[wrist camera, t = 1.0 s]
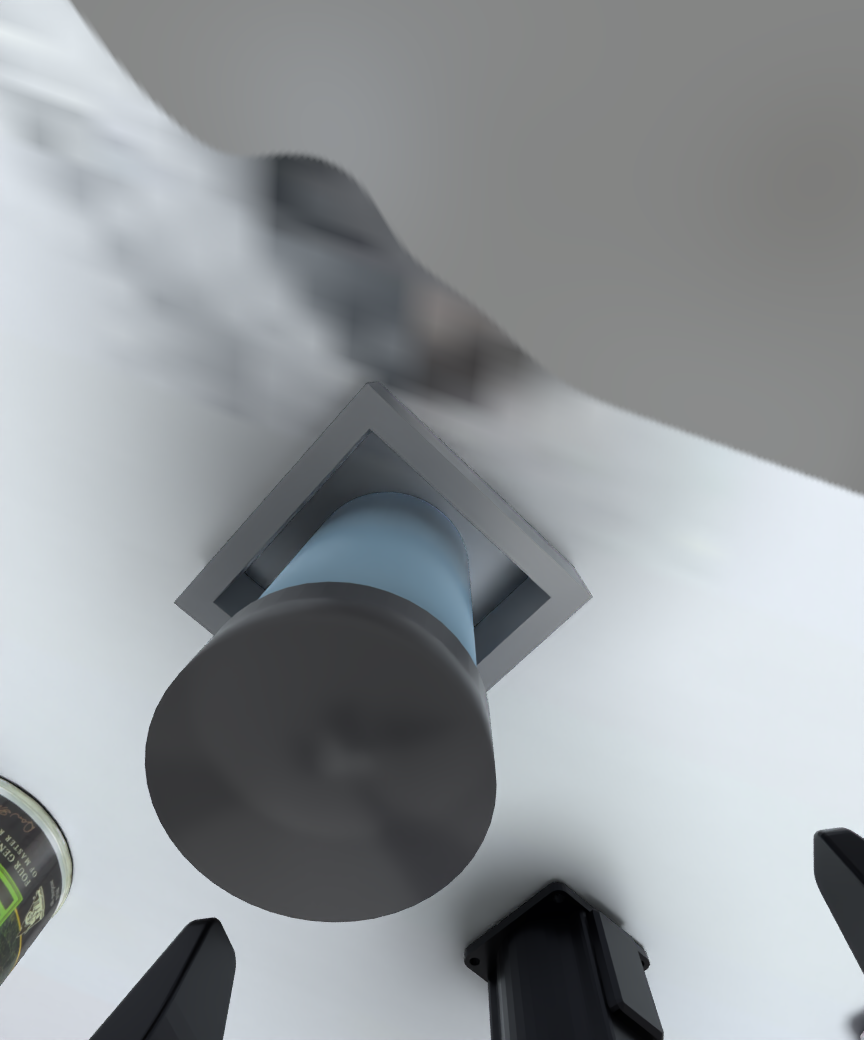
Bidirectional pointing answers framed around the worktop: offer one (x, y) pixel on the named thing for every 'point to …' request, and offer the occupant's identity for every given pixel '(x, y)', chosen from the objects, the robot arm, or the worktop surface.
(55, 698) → the worktop surface
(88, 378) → the worktop surface
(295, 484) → the cartridge housing
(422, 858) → the blue-grey upright cylinder
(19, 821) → the coffee can
